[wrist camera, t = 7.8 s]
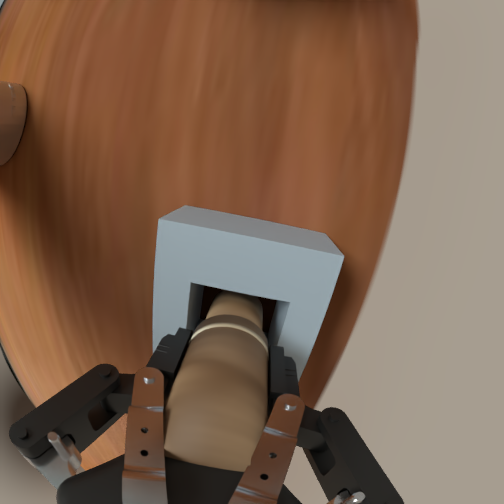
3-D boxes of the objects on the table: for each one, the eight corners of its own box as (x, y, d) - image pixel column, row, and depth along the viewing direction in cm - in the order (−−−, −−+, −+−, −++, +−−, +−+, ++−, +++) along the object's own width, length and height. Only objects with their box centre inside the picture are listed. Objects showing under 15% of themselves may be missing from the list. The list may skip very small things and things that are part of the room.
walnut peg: (220, 342, 19) (183, 493, 8) (195, 292, 18) (119, 444, 6) (277, 327, 18) (282, 491, 7) (256, 273, 17) (238, 444, 6)
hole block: (284, 365, 22) (287, 407, 18) (172, 342, 22) (153, 380, 17) (325, 233, 19) (344, 256, 14) (185, 205, 18) (158, 218, 14)
